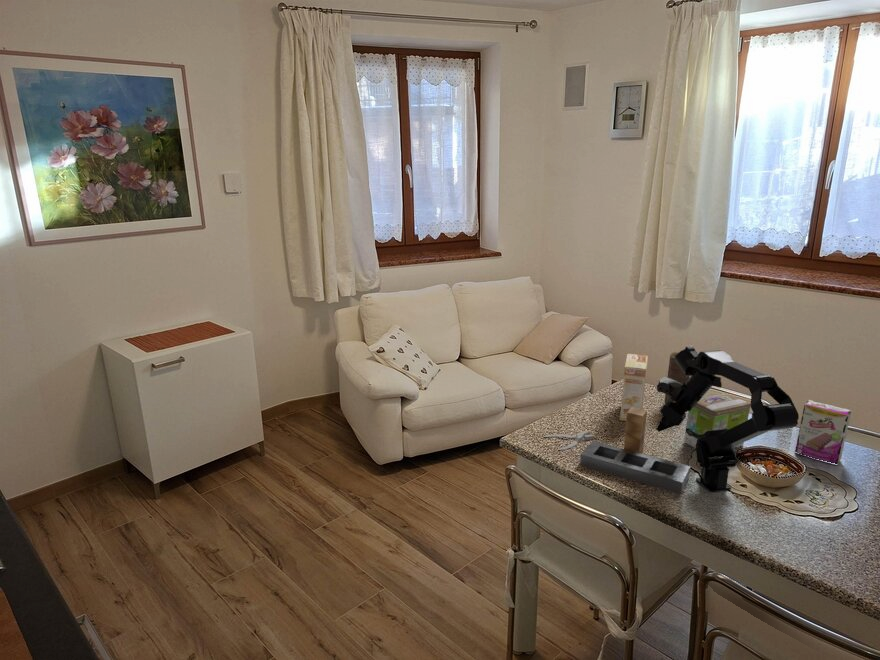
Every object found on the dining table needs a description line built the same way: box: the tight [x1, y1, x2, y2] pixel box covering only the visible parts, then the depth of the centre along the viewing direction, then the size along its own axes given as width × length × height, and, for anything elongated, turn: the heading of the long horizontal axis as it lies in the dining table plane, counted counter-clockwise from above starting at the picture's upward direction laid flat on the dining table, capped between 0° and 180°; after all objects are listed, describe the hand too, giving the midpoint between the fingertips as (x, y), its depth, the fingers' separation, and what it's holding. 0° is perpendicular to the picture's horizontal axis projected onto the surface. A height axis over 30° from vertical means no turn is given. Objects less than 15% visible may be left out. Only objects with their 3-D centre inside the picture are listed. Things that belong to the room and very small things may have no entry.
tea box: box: [683, 392, 751, 449], centre depth 181 cm, size 15×10×15 cm, turn 114°
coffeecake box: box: [619, 353, 649, 422], centre depth 202 cm, size 15×7×20 cm, turn 159°
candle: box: [663, 351, 691, 405], centre depth 207 cm, size 8×7×20 cm
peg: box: [623, 407, 648, 454], centre depth 175 cm, size 4×4×14 cm
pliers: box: [542, 430, 595, 451], centre depth 186 cm, size 10×2×15 cm
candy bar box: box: [794, 399, 852, 464], centre depth 172 cm, size 11×5×16 cm, turn 47°
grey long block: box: [579, 440, 691, 495], centre depth 167 cm, size 28×10×4 cm, turn 56°
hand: (662, 424), depth 172 cm, fingers open, 9 cm apart
